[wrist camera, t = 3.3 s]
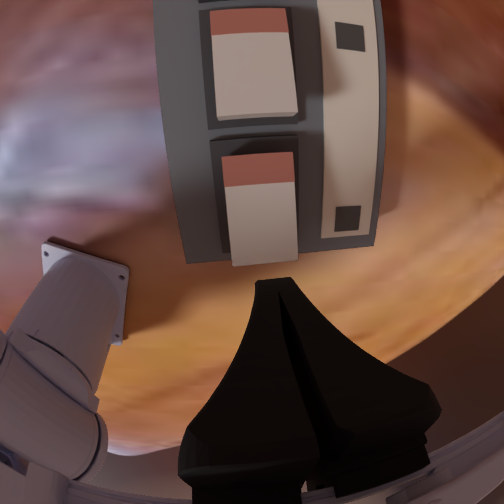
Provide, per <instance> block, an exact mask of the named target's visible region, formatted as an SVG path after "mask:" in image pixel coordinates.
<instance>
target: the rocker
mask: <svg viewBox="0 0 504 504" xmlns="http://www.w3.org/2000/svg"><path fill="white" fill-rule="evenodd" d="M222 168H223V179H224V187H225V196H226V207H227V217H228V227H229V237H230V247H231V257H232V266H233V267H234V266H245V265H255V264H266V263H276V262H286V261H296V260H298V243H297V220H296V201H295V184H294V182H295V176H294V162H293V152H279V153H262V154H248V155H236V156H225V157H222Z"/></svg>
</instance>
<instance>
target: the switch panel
mask: <svg viewBox="0 0 504 504" xmlns="http://www.w3.org/2000/svg"><path fill="white" fill-rule="evenodd" d="M245 8H285V10H286V17H287V23H288V30H289V33H288V34H289V41H290V48H291V55H292V63H293V71H294V80H295V88H296V98H297V108H298V112H297V113H296V114H295V115H294V116H283V117H259V118H244V119H231V120H221V121H218V118H217V111H216V97H215V83H214V68H213V52H212V38H211V25H210V11H216V10H228V9H245ZM153 15H154V35H155V51H156V64H157V75H158V86H159V96H160V105H161V113H162V122H163V130H164V137H165V144H166V151H167V158H168V165H169V171H170V178H171V184H172V190H173V195H174V201H175V207H176V212H177V218H178V223H179V228H180V233H181V238H182V243H183V248H184V253H185V258H186V263H187V264H191V263H202V262H212V261H223V260H232V257H231V247H230V237H229V227H228V217H227V207H226V196H225V187H224V179H223V168H222V157H225V156H236V155H248V154H262V153H279V152H293V162H294V176H295V182H294V184H295V201H296V220H297V243H298V253H308V252H318V251H328V250H338V249H348V248H358V247H368V246H374V241H375V234H376V228H377V221H378V214H379V206H380V198H381V189H382V179H383V168H384V155H385V138H386V106H387V86H386V55H385V40H384V28H383V18H382V9H381V2H380V0H153Z"/></svg>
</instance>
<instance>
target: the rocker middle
mask: <svg viewBox="0 0 504 504" xmlns="http://www.w3.org/2000/svg"><path fill="white" fill-rule="evenodd" d="M210 25H211V38H212V52H213V68H214V83H215V97H216V111H217V118H218V121H221V120H231V119H244V118H259V117H283V116H294V115H295V114H296V113H297V112H298V108H297V98H296V88H295V80H294V71H293V63H292V55H291V48H290V41H289V34H288V33H289V30H288V23H287V17H286V10H285V8H245V9H228V10H216V11H210Z"/></svg>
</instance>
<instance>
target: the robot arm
mask: <svg viewBox="0 0 504 504" xmlns="http://www.w3.org/2000/svg"><path fill="white" fill-rule="evenodd" d="M46 251H47V252H48V253H47V252H46ZM42 262H43V274H44V276H43V278H42V279H41V280H40V282H39V283H38V285H37V286H36V287H35V289H34V290H33V292H32V293H31V295H30V296H29V298H28V299H27V300H26V302H25V303H24V305H23V307H22V308H21V310H20V311H19V313H18V314H17V316H16V317H15V319H14V321H13V322H12V324H11V325H10V327H9V329H8V330H7V332H6V334H4V333H3V332H2V331H1V330H0V504H344V503H348V502H351V501H355V500H358V499H361V498H365V497H368V496H371V495H374V494H377V493H380V492H383V491H386V490H388V489H391V488H394V487H396V486H399V485H401V484H404V483H406V482H409V481H411V480H414V479H416V478H418V477H420V476H423V475H425V474H427V473H428V474H427V475H426V477H425V478H424V479H422V480H420V481H419V482H416V483H414V484H412V485H410V486H407V487H406V488H404V489H403V490H401V491H399V492H397V493H395V494H393V495H391V496H389V497H387V498H386V503H387V504H476V503H478V502H479V501H480V500H481V499H483V498H484V497H485V496H486V495H487V494H489V493H490V492H491V491H492V490H493V489H495V488H496V487H497V486H498V485H499V484H500V483H501V482H502V481H504V411H503V412H501V413H500V414H499V415H497V416H495V417H494V418H492V419H491V420H490V421H488V422H486V423H485V424H483V425H482V426H480V427H478V428H477V429H475V430H473V431H472V432H470V433H468V434H467V435H465V436H463V437H461V438H459V439H457V440H455V441H454V442H452V443H450V444H448V445H446V446H444V447H442V448H440V449H438V450H436V451H434V452H432V453H430V454H427V451H426V448H425V446H424V445H425V444H426V443H427V438H426V436H425V432H426V431H427V430H428V428H430V426H431V425H432V424H433V423H434V422H435V421H436V420H437V419H438V418H439V416H440V414H441V410H442V409H441V407H440V405H439V403H438V400H437V398H436V396H435V394H434V393H433V391H432V390H431V388H430V386H429V385H428V384H426V383H424V382H421V381H419V380H417V379H414V378H412V377H410V376H407V375H405V374H403V373H401V372H399V371H397V370H395V369H393V368H392V367H390V366H388V365H386V364H384V363H383V362H381V361H380V360H378V359H376V358H375V357H373V356H372V355H370V354H369V353H367V352H365V351H364V350H363V349H361V348H360V347H359V346H357V345H356V344H355V343H353V342H352V341H351V340H350V339H348V338H347V337H346V336H345V335H343V334H342V333H341V332H340V331H339V330H338V329H337V328H336V327H335V326H333V325H332V324H331V323H330V322H329V321H328V320H327V319H326V318H325V317H324V316H323V315H322V314H321V313H320V311H319V310H318V309H317V308H316V307H315V306H314V305H313V304H312V303H311V302H310V300H309V299H308V298H307V297H306V296H305V294H304V293H303V292H302V291H301V290H300V288H299V287H298V286H297V284H296V283H295V282H294V280H293V279H292V278H291V277H285V278H276V279H266V280H258V281H257V282H256V283H255V297H254V303H253V307H252V311H251V315H250V319H249V322H248V325H247V328H246V331H245V334H244V336H243V339H242V341H241V344H240V346H239V348H238V351H237V353H236V355H235V357H234V359H233V361H232V363H231V365H230V367H229V368H228V370H227V372H226V374H225V376H224V377H223V379H222V381H221V382H220V384H219V385H218V387H217V388H216V390H215V391H214V393H213V394H212V396H211V397H210V399H209V400H208V401H207V403H206V404H205V405H204V407H203V408H202V409H201V410H200V412H199V413H198V414H197V415H196V416H195V418H194V419H193V420H192V421H191V422H190V424H189V425H188V426H187V428H186V431H185V434H184V436H183V439H182V443H181V446H180V452H179V457H178V476H179V477H180V478H181V479H182V480H183V481H184V482H186V483H187V484H188V485H190V486H191V487H192V500H186V499H172V498H161V497H152V496H145V495H137V494H131V493H126V492H120V491H115V490H110V489H106V488H101V487H97V486H93V485H89V484H86V483H87V482H88V481H90V480H91V479H92V478H93V477H94V476H95V475H96V474H97V473H98V472H99V470H100V469H101V467H102V465H103V463H104V461H105V458H106V454H107V449H108V431H107V427H106V424H105V421H104V420H103V418H102V417H101V416H100V415H99V414H98V413H97V408H98V404H99V398H97V397H96V396H95V395H94V394H95V393H96V391H97V388H98V385H99V382H100V378H101V375H102V371H103V368H104V365H105V362H106V358H107V355H108V352H109V349H110V346H111V344H114V345H118V346H119V345H121V344H122V341H123V328H124V316H125V305H126V296H127V287H128V279H129V269H128V267H127V266H125V265H122V264H118V263H115V262H112V261H108V260H105V259H102V258H98V257H95V256H92V255H89V254H85V253H82V252H79V251H76V250H73V249H70V248H66V247H63V246H60V245H57V244H54V243H51V242H48V241H45V242H44V243H43V244H42ZM120 275H122V276H124V277H125V278H122V277H121V276H120ZM305 480H306V483H307V490H308V492H303V493H301V488H302V486H303V484H304V482H305Z"/></svg>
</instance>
